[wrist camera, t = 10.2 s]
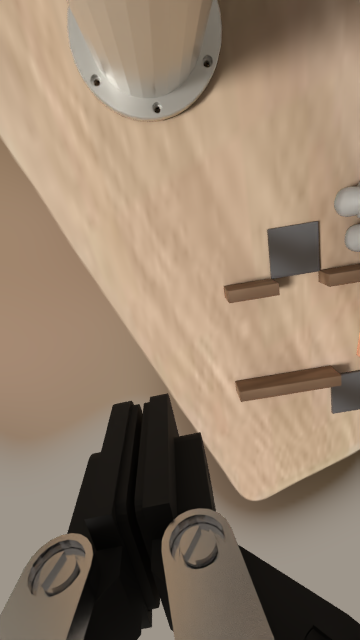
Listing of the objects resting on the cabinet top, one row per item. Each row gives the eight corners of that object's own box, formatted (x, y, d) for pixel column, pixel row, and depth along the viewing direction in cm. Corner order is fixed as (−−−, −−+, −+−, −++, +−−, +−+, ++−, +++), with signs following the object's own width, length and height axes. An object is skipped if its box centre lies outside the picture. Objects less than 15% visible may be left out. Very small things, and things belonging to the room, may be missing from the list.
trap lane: (217, 237, 34) (221, 239, 32) (435, 201, 34) (456, 200, 32) (240, 427, 41) (245, 440, 39) (422, 397, 41) (438, 408, 38)
